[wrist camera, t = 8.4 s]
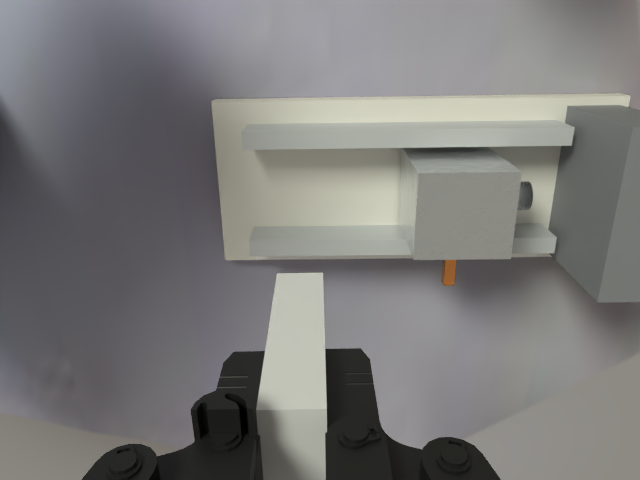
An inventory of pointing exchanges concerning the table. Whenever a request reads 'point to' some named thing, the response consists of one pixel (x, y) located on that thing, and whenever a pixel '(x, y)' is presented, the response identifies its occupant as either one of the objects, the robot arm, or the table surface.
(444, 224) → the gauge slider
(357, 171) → the base
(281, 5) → the table surface
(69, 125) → the table surface
